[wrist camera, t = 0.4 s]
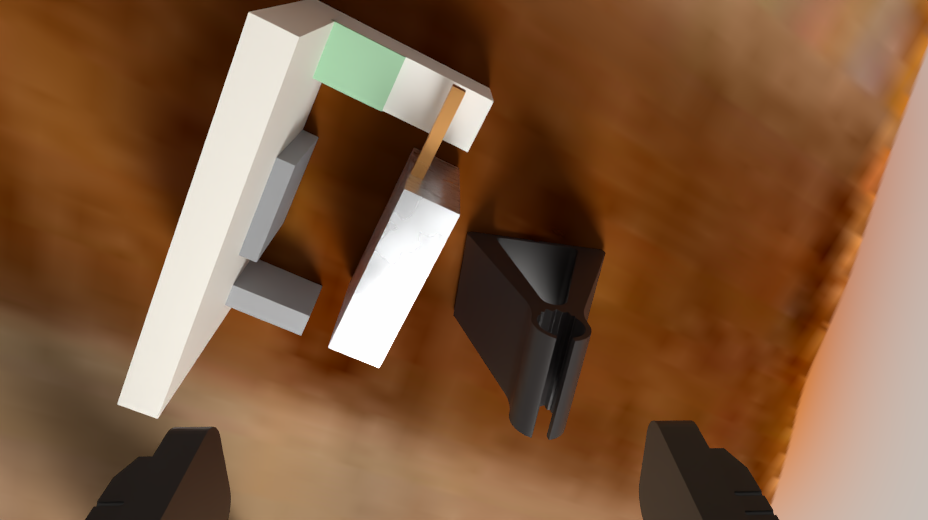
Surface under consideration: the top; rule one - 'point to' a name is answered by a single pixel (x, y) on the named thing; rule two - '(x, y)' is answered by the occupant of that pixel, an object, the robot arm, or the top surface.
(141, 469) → the robot arm
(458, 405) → the top surface
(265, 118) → the panel and block assembly
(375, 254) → the block and dowel assembly
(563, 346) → the phone stand
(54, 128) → the top surface
